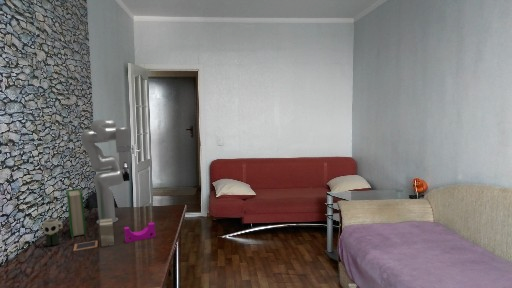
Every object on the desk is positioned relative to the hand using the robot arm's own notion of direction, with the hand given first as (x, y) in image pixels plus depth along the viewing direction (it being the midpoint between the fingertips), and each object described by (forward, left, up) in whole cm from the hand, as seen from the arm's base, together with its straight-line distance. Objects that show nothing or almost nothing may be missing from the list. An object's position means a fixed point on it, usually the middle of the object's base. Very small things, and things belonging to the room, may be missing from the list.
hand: (126, 179), depth 202 cm
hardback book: (-16, -28, -31) cm, 44 cm away
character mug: (0, -39, -30) cm, 50 cm away
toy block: (+14, +4, -31) cm, 34 cm away
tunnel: (+12, -12, -30) cm, 35 cm away
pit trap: (+12, -22, -30) cm, 40 cm away
